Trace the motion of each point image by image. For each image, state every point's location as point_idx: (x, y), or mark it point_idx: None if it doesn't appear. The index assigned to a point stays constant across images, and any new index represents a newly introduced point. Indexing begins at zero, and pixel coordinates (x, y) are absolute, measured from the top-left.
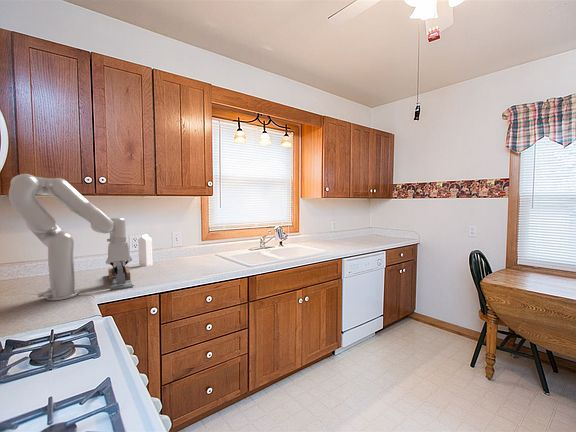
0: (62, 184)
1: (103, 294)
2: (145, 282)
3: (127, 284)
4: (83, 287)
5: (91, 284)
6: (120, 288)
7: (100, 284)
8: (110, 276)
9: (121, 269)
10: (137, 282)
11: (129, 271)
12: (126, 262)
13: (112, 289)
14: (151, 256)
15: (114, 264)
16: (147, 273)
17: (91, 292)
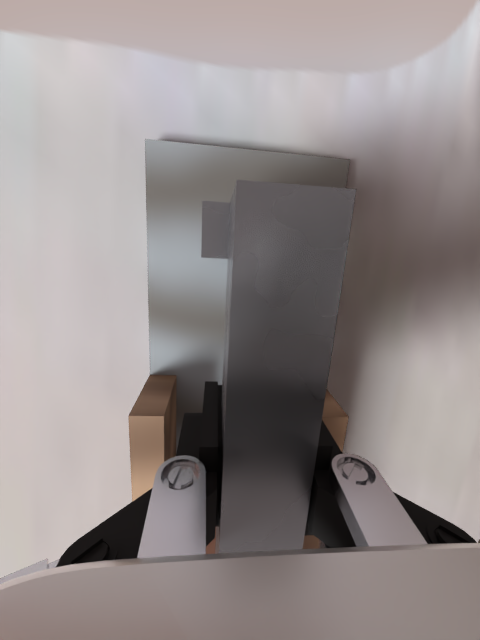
0: None
1: (409, 87)
2: (21, 255)
3: (189, 222)
4: (466, 409)
5: (409, 453)
6: (261, 154)
7: (363, 420)
8: (333, 410)
9: (268, 188)
10: (97, 304)
11: (132, 485)
12: (111, 546)
13: (329, 159)
14: None
15: (381, 506)
16: (4, 539)
17: (462, 233)
